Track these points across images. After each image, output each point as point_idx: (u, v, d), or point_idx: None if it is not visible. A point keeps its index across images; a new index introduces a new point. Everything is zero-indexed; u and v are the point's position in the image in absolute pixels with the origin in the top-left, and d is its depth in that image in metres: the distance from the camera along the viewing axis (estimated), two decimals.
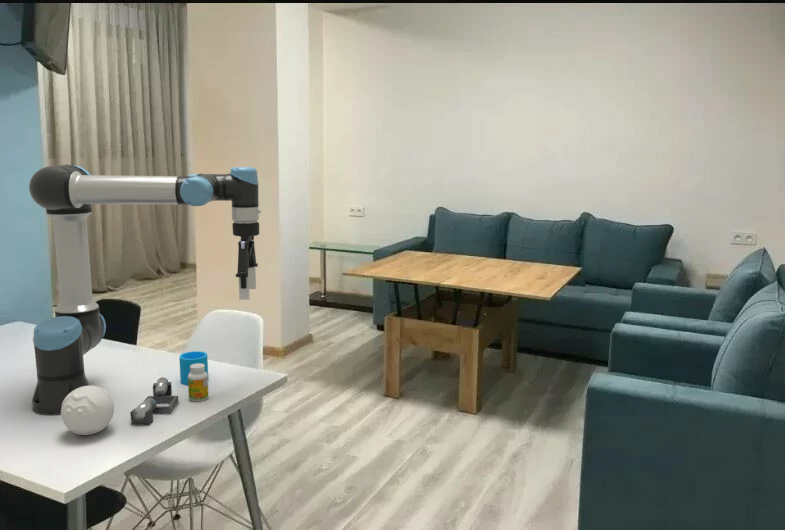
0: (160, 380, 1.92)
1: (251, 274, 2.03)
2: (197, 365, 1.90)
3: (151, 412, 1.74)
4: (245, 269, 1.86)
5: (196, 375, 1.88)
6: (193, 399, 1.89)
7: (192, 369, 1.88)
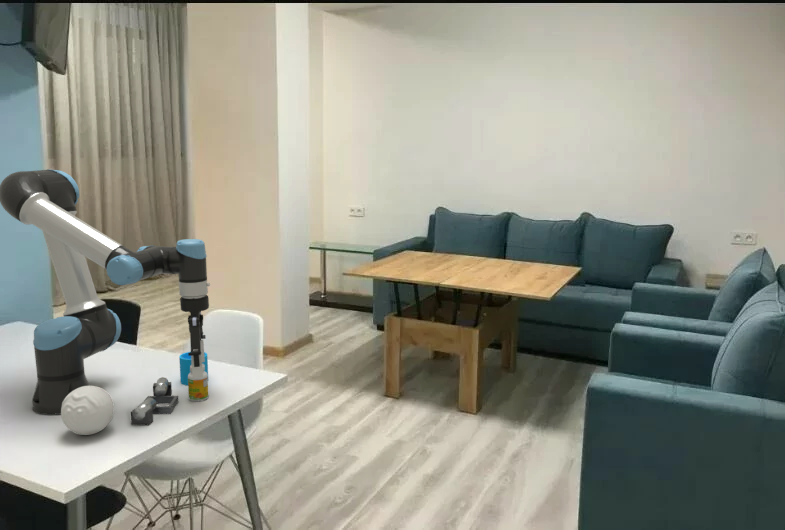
0: (160, 380, 1.92)
1: None
2: None
3: (151, 412, 1.74)
4: (199, 347, 1.79)
5: None
6: (193, 399, 1.89)
7: None
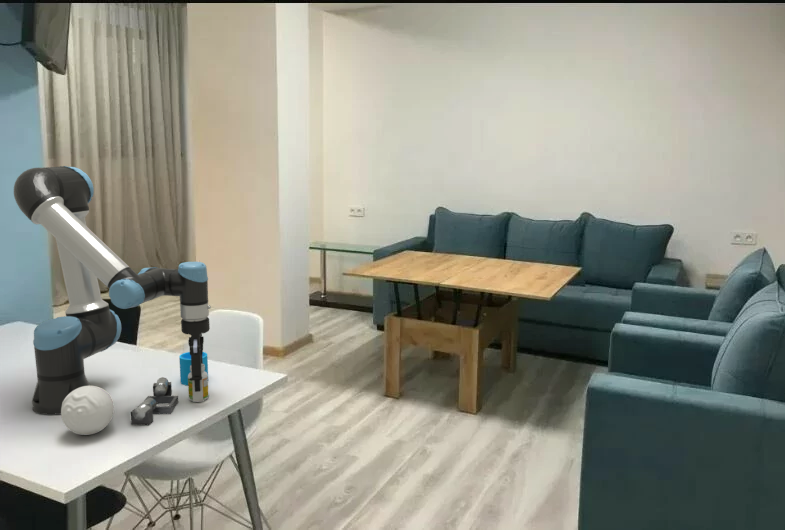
0: (160, 380, 1.92)
1: None
2: None
3: (151, 412, 1.74)
4: (200, 374, 1.84)
5: None
6: None
7: None
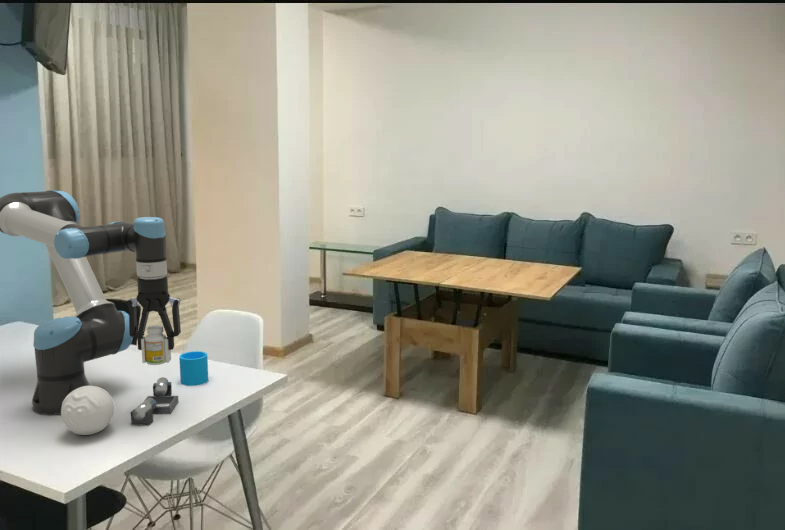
0: (160, 380, 1.92)
1: None
2: (155, 327, 1.80)
3: (151, 412, 1.74)
4: None
5: (147, 335, 1.80)
6: None
7: None
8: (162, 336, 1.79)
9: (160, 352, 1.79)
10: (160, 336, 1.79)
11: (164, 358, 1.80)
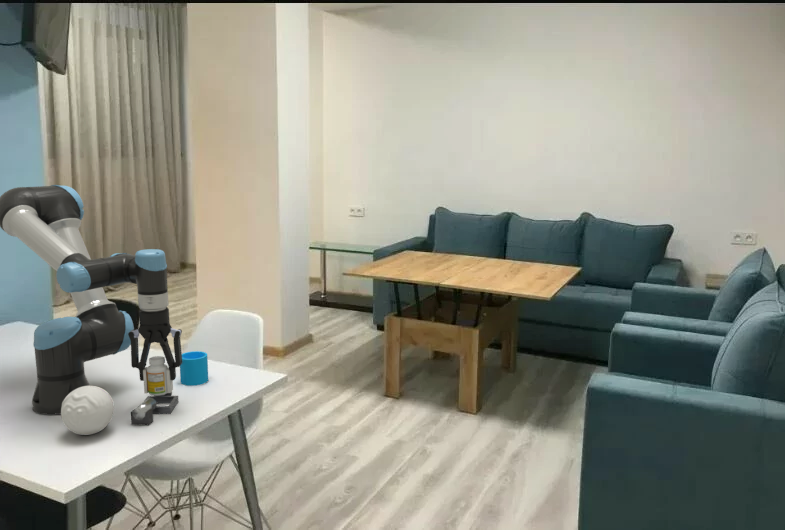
0: None
1: None
2: (157, 358, 1.81)
3: (151, 412, 1.74)
4: None
5: None
6: None
7: None
8: (164, 367, 1.81)
9: (162, 382, 1.80)
10: (162, 367, 1.80)
11: (166, 389, 1.82)
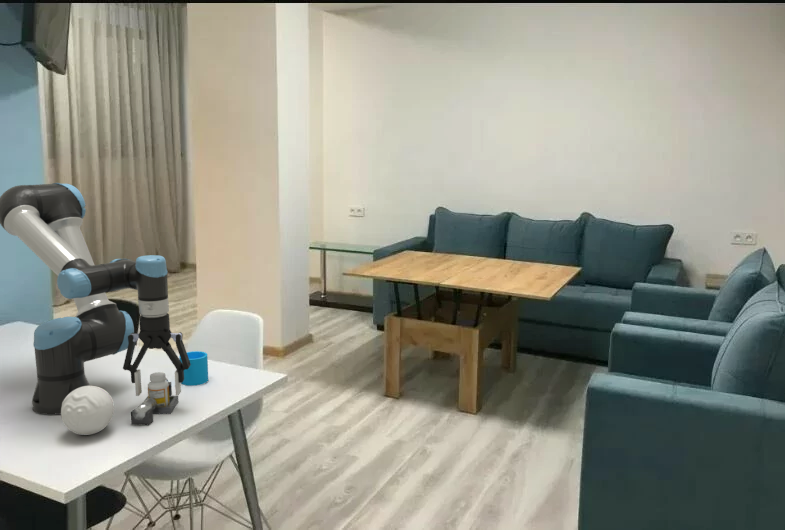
0: None
1: None
2: (158, 374, 1.82)
3: (151, 412, 1.74)
4: (124, 363, 1.80)
5: (150, 382, 1.82)
6: None
7: None
8: (164, 383, 1.82)
9: (162, 399, 1.81)
10: (162, 383, 1.81)
11: (166, 405, 1.83)
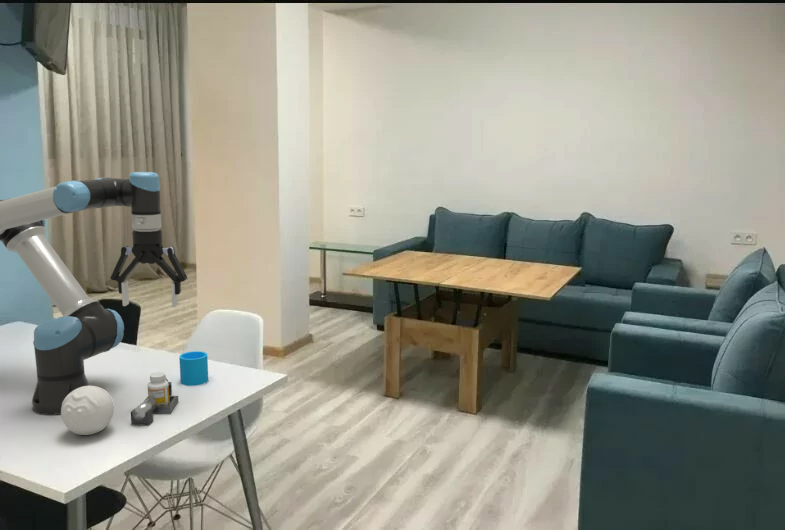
0: None
1: None
2: (157, 374, 1.82)
3: (151, 412, 1.74)
4: (112, 273, 1.85)
5: (150, 382, 1.82)
6: None
7: None
8: (164, 383, 1.82)
9: (162, 399, 1.81)
10: (162, 383, 1.81)
11: (166, 405, 1.83)
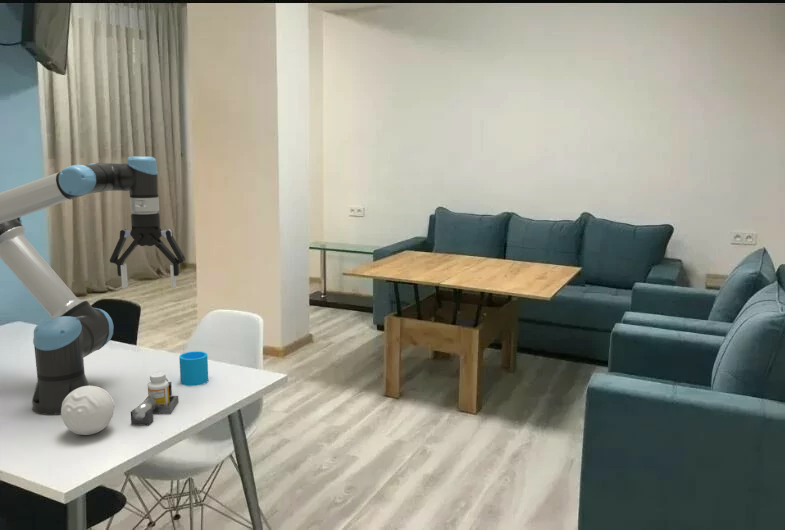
0: None
1: None
2: (158, 374, 1.82)
3: (151, 412, 1.74)
4: (111, 256, 1.89)
5: (150, 382, 1.82)
6: None
7: None
8: (164, 383, 1.82)
9: (162, 399, 1.81)
10: (162, 383, 1.81)
11: (166, 405, 1.83)
